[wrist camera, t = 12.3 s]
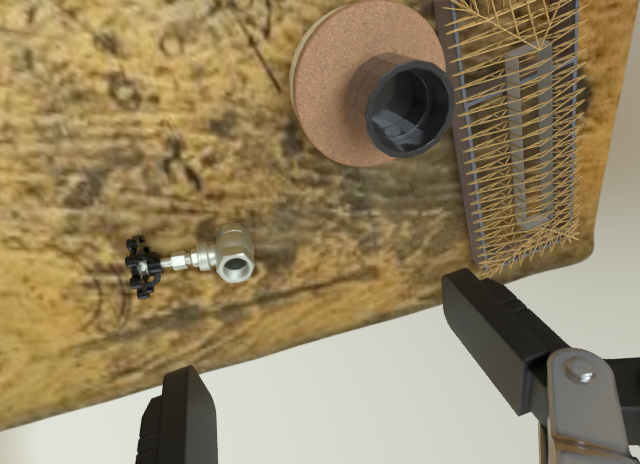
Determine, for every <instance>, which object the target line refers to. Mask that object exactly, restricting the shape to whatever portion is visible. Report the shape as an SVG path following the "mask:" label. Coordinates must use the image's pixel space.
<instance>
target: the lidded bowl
mask: <svg viewBox="0 0 640 464" xmlns="http://www.w3.org/2000/svg"><path fill="white" fill-rule="evenodd" d="M387 52H391V53H396V54H402V55H406V56H410V57H413V58H417V59H421V60H425V61H428V62H432V63H434V64H436V65H437V66H438V67H439V68H441V69H442V70H443V71H444V72H446V66H445V59H444V54H443V50H442V47H441V44H440V41H439V39H438V37H437V35H436V33H435V32H434V30H433V28H432V27H431V26H430V24H429V23H428V22H427V21H426V20H425V18H423V17H422V16H421V15H420V14H419V13H417V12H416V11H415V10H413V9H411V8H410V7H408V6H406V5H404V4H401V3H398V2H395V1H391V0H362V1H359V2H355V3H351V4H348V5H344V6H341V7H339V8H337V9H335V10H332V11H330V12H329V13H327V14H325V15H324V16H323V17H321V18H320V19H318V20H317V21H316V22H315V23H314V24H313V25H312V26H311V27H310V28H309V29H308V30H307V32H306V33H305V35H304V36H303V37H302V39H301V40H300V42H299V44H298V46H297V48H296V50H295V53H294V56H293V59H292V62H291V68H290V73H289V89H290V97H291V102H292V105H293V109H294V112H295V114H296V116H297V119H298V121H299V124H300V126H301V128H302V130H303V132H304V133H305V135H306V136H307V138H308V139H309V141H310V142H311V143H312V144H313V145H314V146H315V147H316V148H317V150H319V151H320V152H321V153H322V154H324V155H325V156H326V157H328V158H330V159H332V160H334V161H336V162H338V163H341V164H344V165H348V166H354V167H369V166H376V165H380V164H383V163H386V162H389V161H391V160H393V159H395V158H396V157H390V156H388V155H386V154H385V153H383V152H381V151H380V150H378V149H377V148H376V147H374V146H373V145H372V144H371V143H370V142H369V141H368V140H367V139H365V138H364V137H363V136H362V135H361V134H360V133H359V132H358V131H356V130H355V128H354V126H353V125H352V123H351V122H350V120H349V119H348V116H347V110H346V105H345V99H346V93H347V88H348V84H349V82H350V80H351V79H352V77H353V75H354V74H355V72H356V70H357V69H358V67H360V66H361V65H362V64H363V63H365V62H366V61H367V60H368V59H370V58H371V57H373V56H376V55H380V54H383V53H387Z"/></svg>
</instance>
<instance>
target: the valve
mask: <svg viewBox="0 0 640 464" xmlns="http://www.w3.org/2000/svg"><path fill="white" fill-rule="evenodd" d="M141 242H145V238H144V236H143V235H139V236H133V237H132V239H127V241H126V245H127V248H128V250H130V256H127V257H126V258H125V264H126V267H127V268H130V269H131V273H132V278H130V287H131V289H137V297H138V299H139V300H141V299H146V298H150V293H153V292H154V286H155V285H157V284H158V283H159V281H160V278H161V275H160V273H164V270H165V268H166V267H173V269H174V270H181V269H187V268H188V265H189V264H193V266H194V267H199V268H200V270H201V271H206V270H211V266H216V272H217V273H218V274H219V275H220V276H221V277H222V278H223V279H224V280H225V281H227V282H228V283H237V282H242V281H245V280H248V279H249V277H250V275H251V273H252V271H253V269H254V266H255V262H254V246H253V243H252V241H251V238H250V234H249V232H248V231H247V230H246V229H245V228H244V227H243V226H242V225H241V224H240V223H229V224H225V225H222V226H221V228H220V230H219V232H218V235H217V237H216V243H214V244H207V242H201V243H197V244H196V249H192V250H191V253H187V254H186V252H185V250H183V251H177V252H172V253H171V257H168V258H163V256H162V255H161V254H158V253H156V252H151V250H150V248H149V247H142V246H141ZM141 276H142V277H141ZM150 276H154V280H153V281H152V282H149V281H150Z"/></svg>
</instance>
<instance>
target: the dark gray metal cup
mask: <svg viewBox="0 0 640 464" xmlns="http://www.w3.org/2000/svg"><path fill="white" fill-rule="evenodd" d="M345 105H346V110H347V116H348V119H349V120H350V122H351V123H352V125H353V126H354V128H355V130H356V131H358V132H359V133H360V134H361V135H362V136H363V137H364V138H365V139H367V140H368V141H369V142H370V143H371V144H372V145H373V146H374V147H376V148H377V149H378V150H380V151H381V152H383V153H385V154H386V155H388V156H390V157H396V158H410V157H413V156H417V155H420V154H423V153H425V152H426V151H427V150H429V149H430V148H431V147H433V146H434V145H435V144H437V143H438V142H439V140H440V139H441V138H442V136H443V135H444V133H445V132H446V131H447V129H448V128H449V126H450V123H451V120H452V116H453V113H454V110H455V92H454V88H453V86H452V84H451V81H450V79H449V77H448V75H447V73H446V72H444V71H443V70H442V69H441V68H439V67H438V66H437V65H436V64H434V63H432V62H428V61H425V60H421V59H417V58H413V57H410V56H406V55H402V54H396V53H391V52H387V53H383V54H380V55H376V56H373V57H371V58H370V59H368V60H367V61H366V62H365V63H363V64H362V65H361V66H360V67H358V69H357V70H356V72H355V74H354V75H353V77H352V79H351V80H350V82H349V84H348V88H347V93H346V99H345Z"/></svg>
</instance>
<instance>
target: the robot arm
mask: <svg viewBox="0 0 640 464" xmlns="http://www.w3.org/2000/svg"><path fill="white" fill-rule="evenodd" d="M441 282H442V296H443V310H444V314H445V317H446V320H447V322H448V324H449V326H450V328H451V329H452V330H453V332H454V333H455V334H456V336H457V337H458V338H459V340H461V342H462V343H463V345H464V346H465V347H466V349H467V350H468V351H469V353H470V354H471V355H472V356H473V358H474V359H475V360H476V362H477V363H478V364H479V365H480V367H481V368H482V369H483V371H484V372H485V373H486V375H487V376H488V377H489V378H490V380H491V381H492V383H493V384H494V385H495V386H496V388H497V389H498V390H499V392H500V393H501V394H502V396H503V397H504V398H505V399H506V401H507V402H508V403H509V405H510V406H511V407H512V409H513V410H514V411H515V412H516V414H517V415H518V416H521V415H523V414H526V413H529V412H532V413H533V414H534V416H535V417H536V418H537V419H538V421H539V423H538V434H539V464H640V462H639V460H638V459H637V458H636V457H632V455H631V453H630V451H629V447H628V445H639V446H640V357H638V358H623V359H602V358H600V357H599V356H597V355H595V354H594V353H591V352H589V351H586V350H583V349H578V348H572V347H570V346H569V345H568V344H566V343H565V342H564V341H563V340H562V339H561V338H560V337H559V336H558V335H557V334H556V333H555V332H554V331H552V330H551V329H550V328H549V327H548V326H547V325H546V324H545V323H544V322H543V321H542V320H541V319H540V318H539V317H537V316H536V315H535V314H534V313H533V312H532V311H531V310H530V309H527V307H526V305H525V304H523V303H522V302H521V301H520V300H519V299H517V298H516V296H515V295H514V294H513V293H512V292H511V291H510V290H508V289H507V288H506V287H505V286H504V285H502V284H500V283H498V282H496V281H494V280H491V279H489V278H485V279H482V280H479V279H478V278H477V277H476V276H475V275H474V274H473V273H472V272H471V271H470V270H469V269H467V268H463V269H460V270H457V271H454V272H452V273H449V274H446V275H443V276H442V279H441ZM216 422H217V421H216V410H215V405H214V402H213V399H212V396H211V394H210V393H209V391H208V390H207V388H206V386H205V384H204V383H203V381H202V380H201V378H200V376H199V375H198V373H197V371H196V370H195V368H194V367H193V366H192V365H189V366H186V367H184V368H181V369H178V370H175V371H173V372H170V373H167V374H165V376H164V379H163V389H162V395H160V396H158V397H155V398H152V399H151V400H150V403H149V405H148V406H147V408H146V410H145V412H144V414H143V416H142V420H141V427H140V434H139V436H140V439H139V441H138V448H137V452H138V455H136V462H135V464H218V448H217V423H216Z"/></svg>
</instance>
